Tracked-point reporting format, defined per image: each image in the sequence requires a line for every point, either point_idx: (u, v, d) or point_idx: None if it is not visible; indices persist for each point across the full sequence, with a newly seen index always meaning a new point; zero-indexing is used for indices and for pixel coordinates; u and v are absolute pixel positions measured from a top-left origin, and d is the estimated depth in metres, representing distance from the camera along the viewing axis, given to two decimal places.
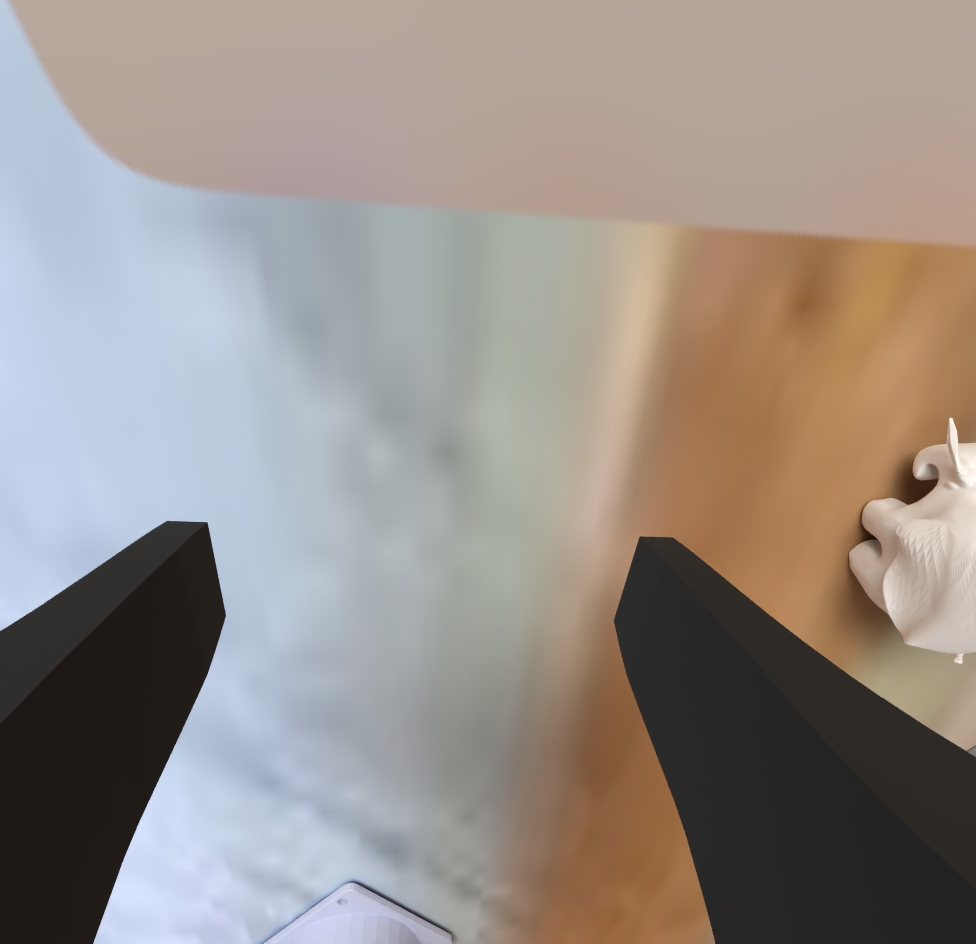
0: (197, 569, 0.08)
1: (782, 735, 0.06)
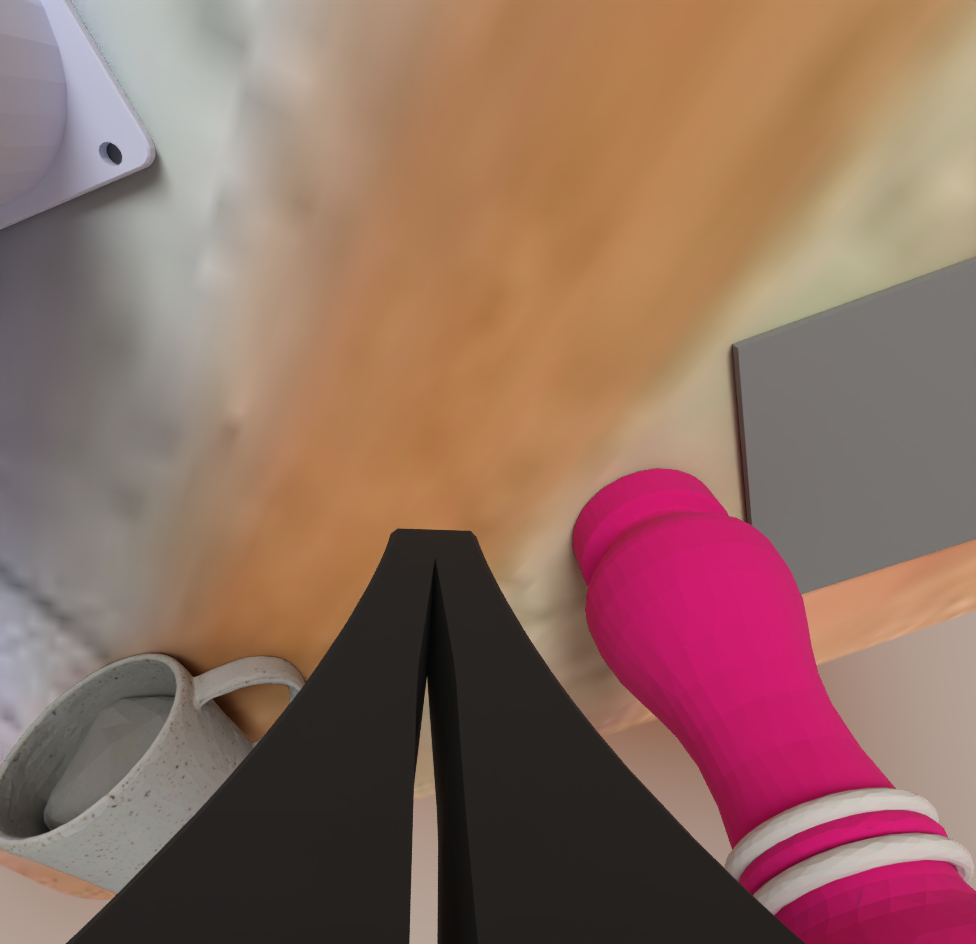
0: None
1: (455, 741, 0.05)
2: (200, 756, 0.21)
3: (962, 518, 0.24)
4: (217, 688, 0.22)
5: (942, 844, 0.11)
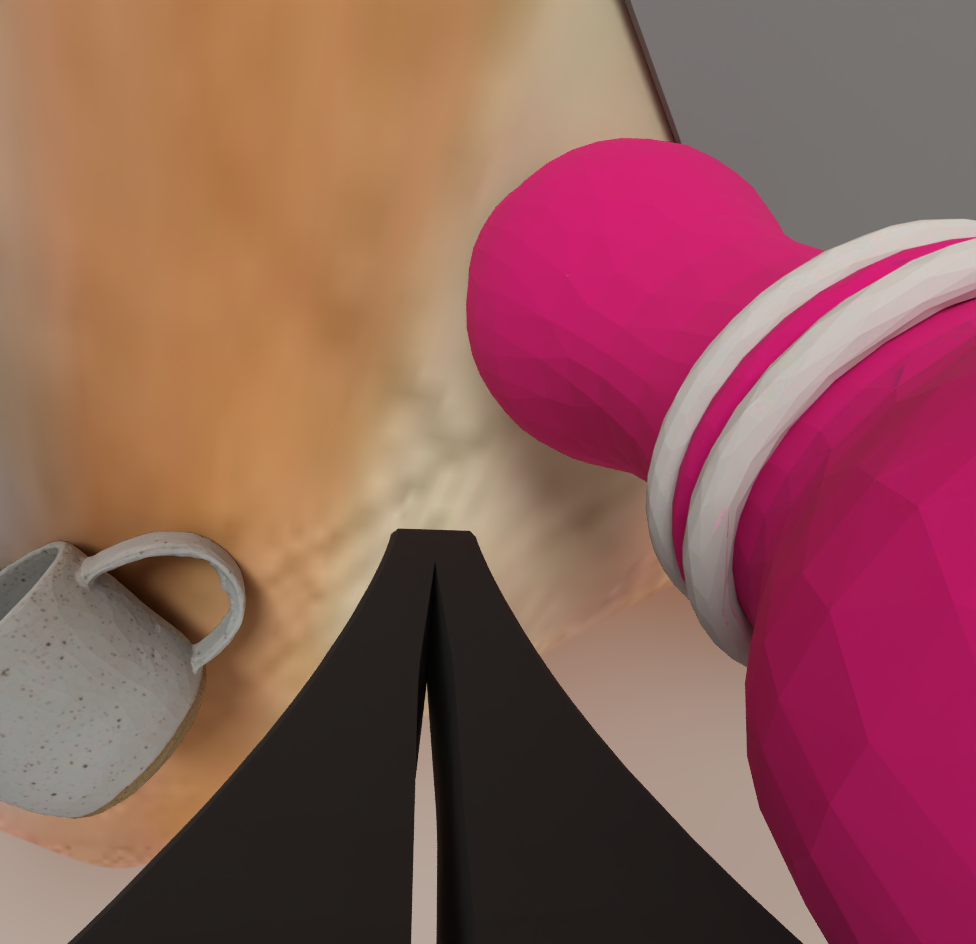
0: None
1: (453, 741, 0.05)
2: (88, 637, 0.18)
3: None
4: (105, 561, 0.18)
5: None
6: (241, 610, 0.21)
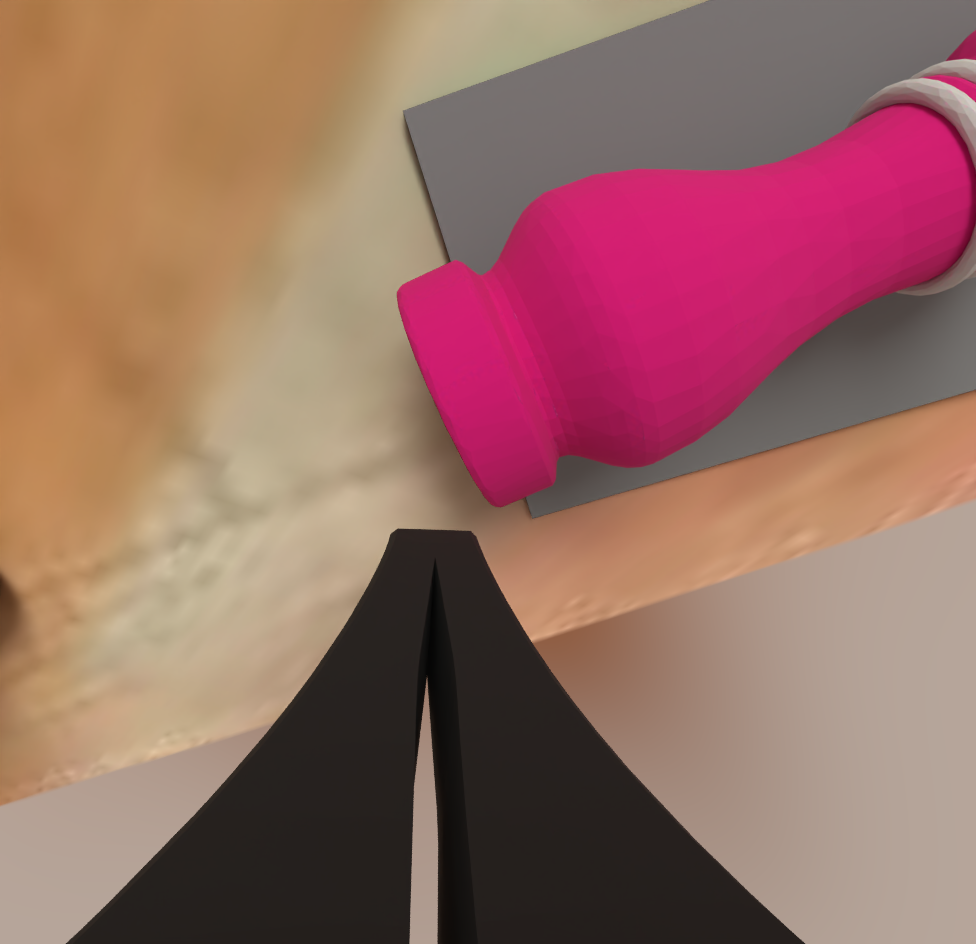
0: None
1: (455, 741, 0.05)
2: None
3: (772, 410, 0.20)
4: None
5: None
6: None
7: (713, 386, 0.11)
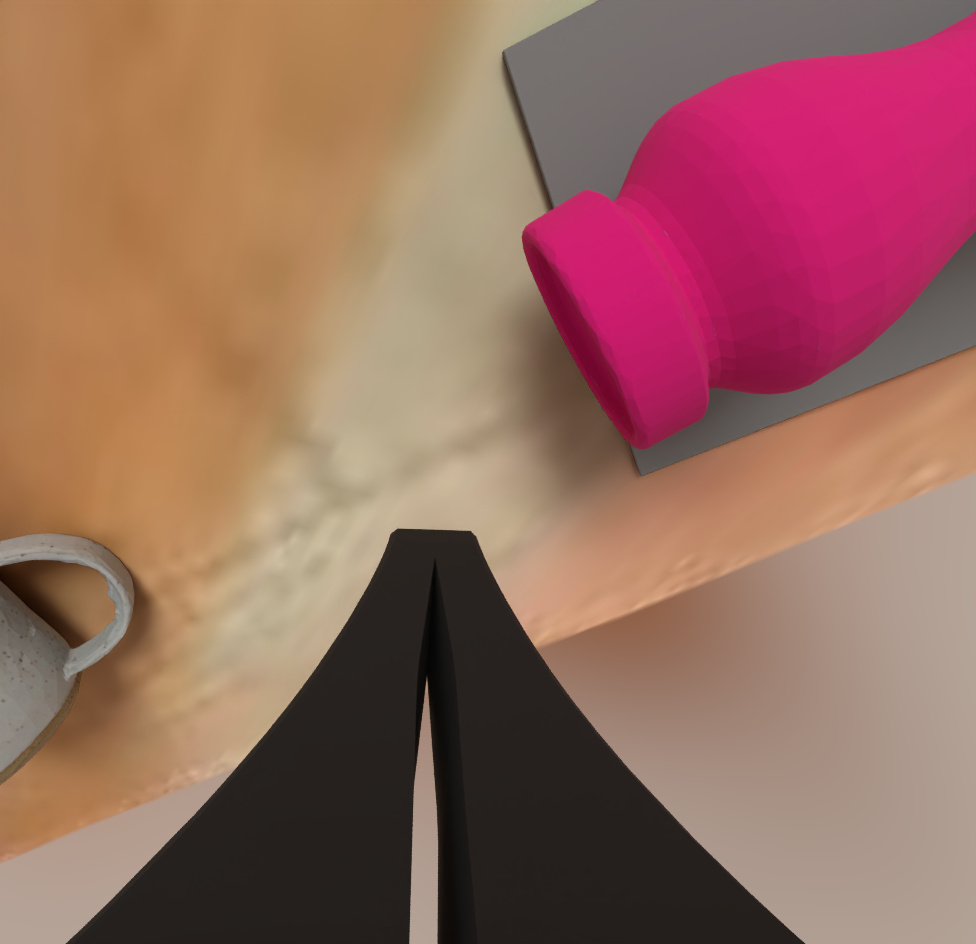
0: None
1: (455, 741, 0.05)
2: None
3: (896, 333, 0.18)
4: None
5: None
6: (125, 621, 0.21)
7: (895, 281, 0.10)
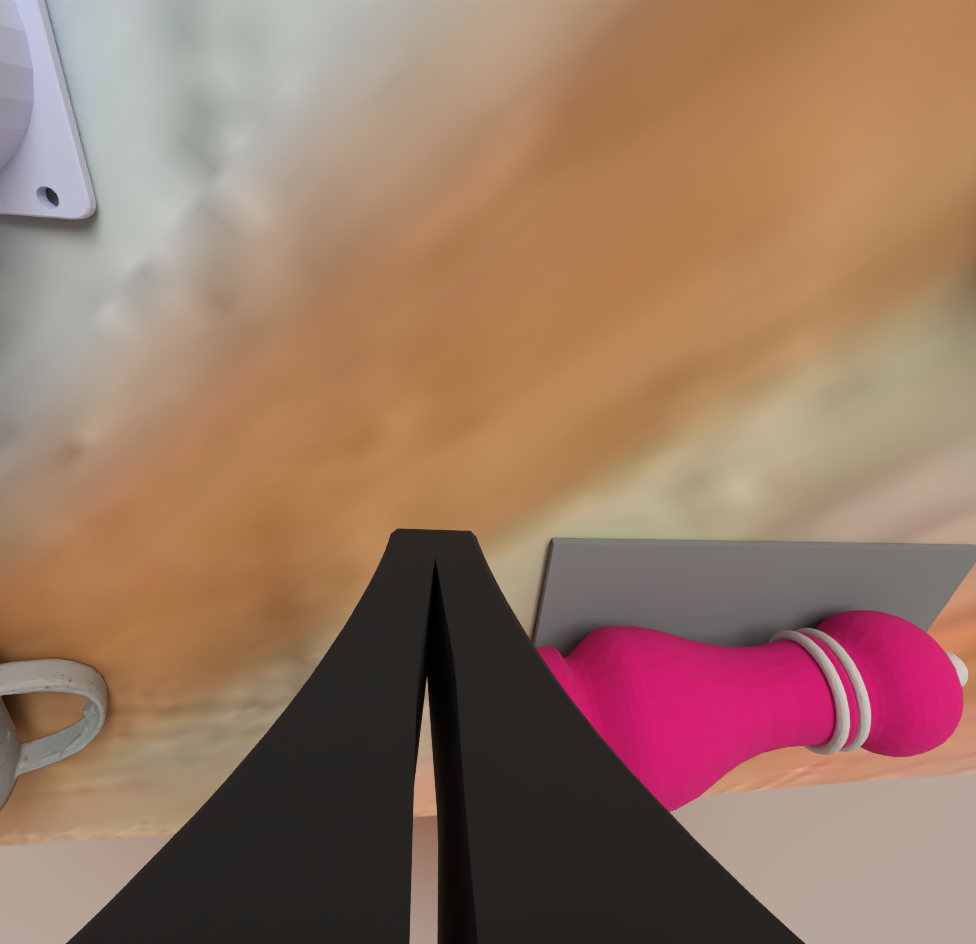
0: None
1: (455, 741, 0.05)
2: None
3: None
4: (11, 686, 0.21)
5: (806, 628, 0.24)
6: (90, 740, 0.24)
7: (684, 803, 0.20)
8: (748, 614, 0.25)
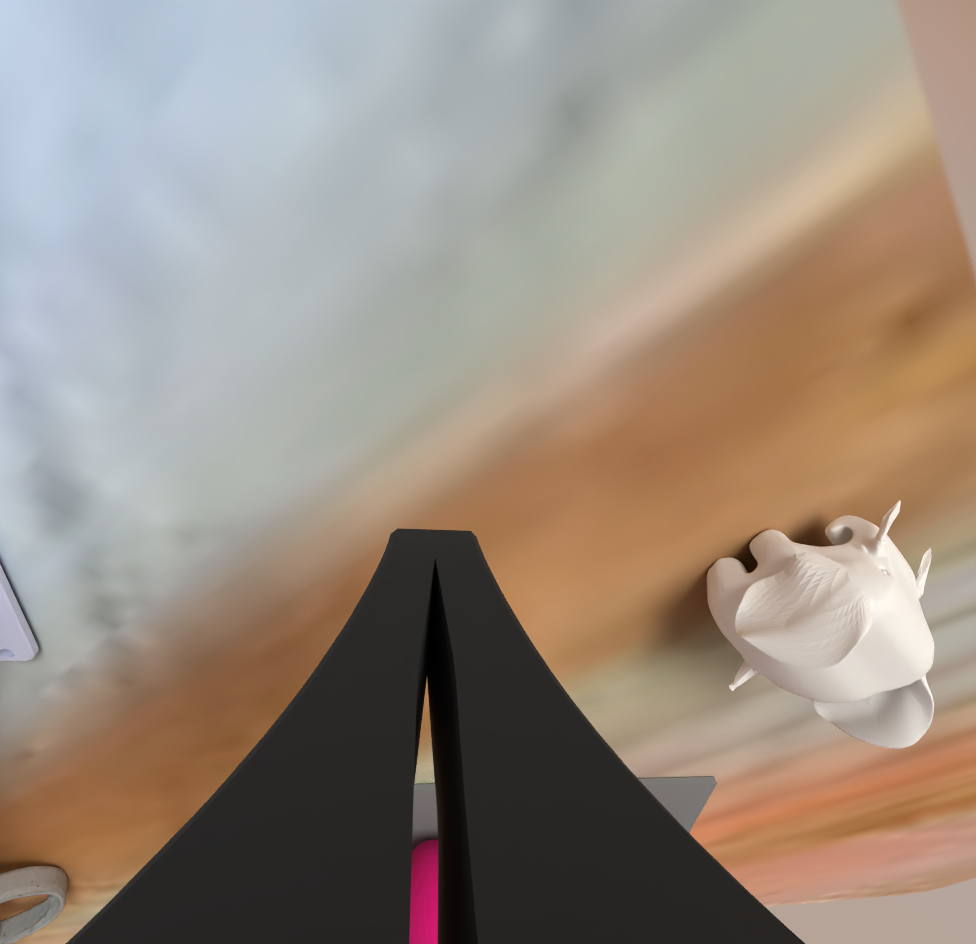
0: None
1: (455, 741, 0.05)
2: None
3: None
4: None
5: None
6: (53, 918, 0.32)
7: None
8: None
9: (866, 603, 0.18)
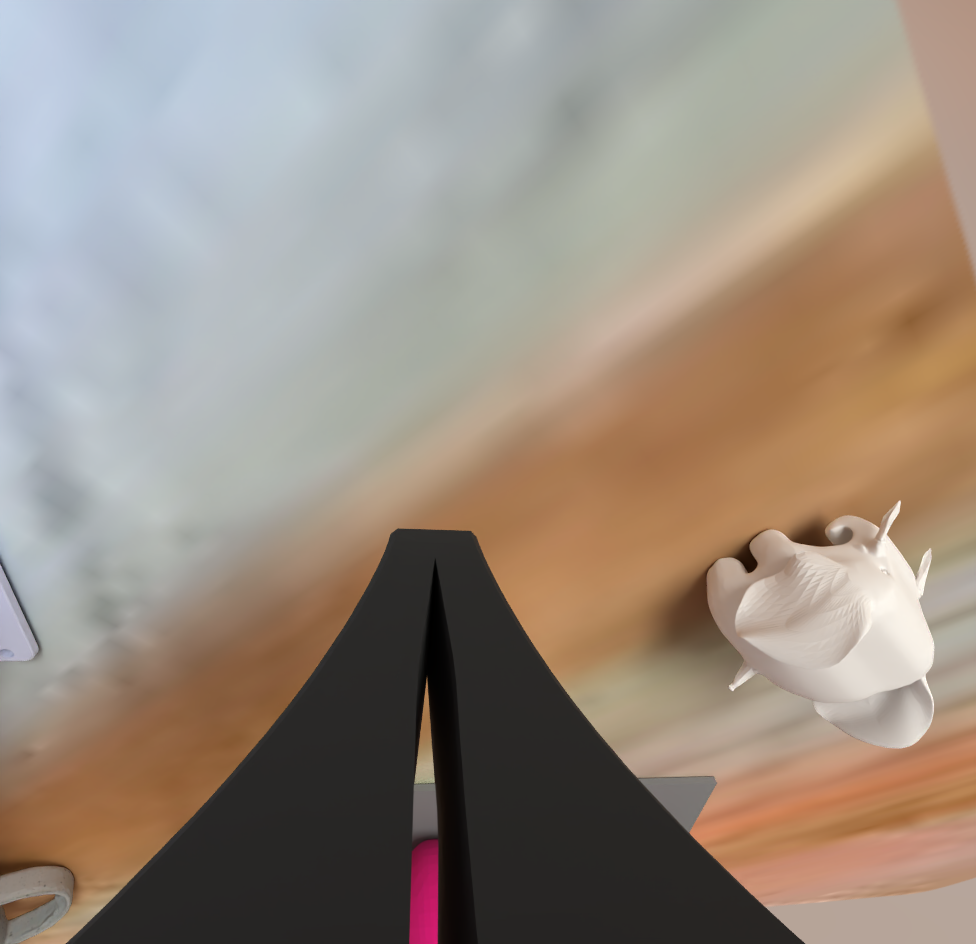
0: None
1: (455, 741, 0.05)
2: None
3: None
4: (1, 899, 0.29)
5: None
6: (59, 918, 0.32)
7: None
8: None
9: (866, 604, 0.18)
